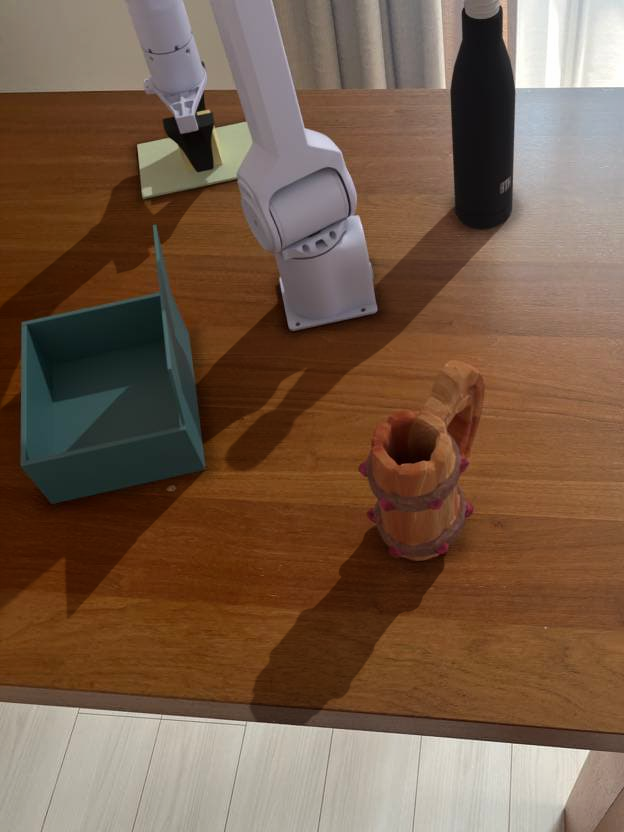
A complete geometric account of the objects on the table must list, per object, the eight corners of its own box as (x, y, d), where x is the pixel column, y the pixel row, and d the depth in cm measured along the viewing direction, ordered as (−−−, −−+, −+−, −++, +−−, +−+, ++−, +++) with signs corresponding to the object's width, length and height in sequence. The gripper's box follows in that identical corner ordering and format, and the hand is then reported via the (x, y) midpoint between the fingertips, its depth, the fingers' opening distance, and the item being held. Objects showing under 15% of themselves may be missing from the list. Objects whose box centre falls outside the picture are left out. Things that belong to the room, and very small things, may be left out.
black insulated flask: (458, 189, 101) (447, -104, 75) (514, 191, 100) (523, -105, 74) (451, 228, 98) (438, -63, 72) (509, 230, 97) (517, -64, 71)
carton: (189, 334, 94) (170, 289, 88) (205, 470, 85) (185, 429, 79) (49, 365, 93) (21, 322, 88) (51, 504, 84) (20, 466, 79)
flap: (166, 285, 88) (169, 285, 88) (181, 425, 79) (185, 424, 79) (152, 224, 81) (156, 224, 81) (167, 369, 73) (171, 368, 73)
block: (219, 141, 109) (209, 109, 105) (223, 164, 106) (213, 132, 103) (183, 149, 108) (172, 116, 105) (187, 172, 106) (175, 139, 103)
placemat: (263, 120, 110) (263, 117, 110) (274, 171, 106) (274, 168, 105) (137, 146, 110) (137, 144, 110) (143, 199, 105) (142, 197, 105)
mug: (433, 592, 77) (423, 501, 64) (356, 551, 79) (330, 456, 66) (515, 469, 82) (520, 361, 69) (439, 434, 85) (431, 325, 72)
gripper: (125, 8, 98) (164, 119, 110) (133, 86, 91) (174, 195, 103) (188, -4, 98) (220, 107, 110) (200, 72, 91) (233, 182, 103)
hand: (202, 149), depth 107 cm, fingers open, 7 cm apart
